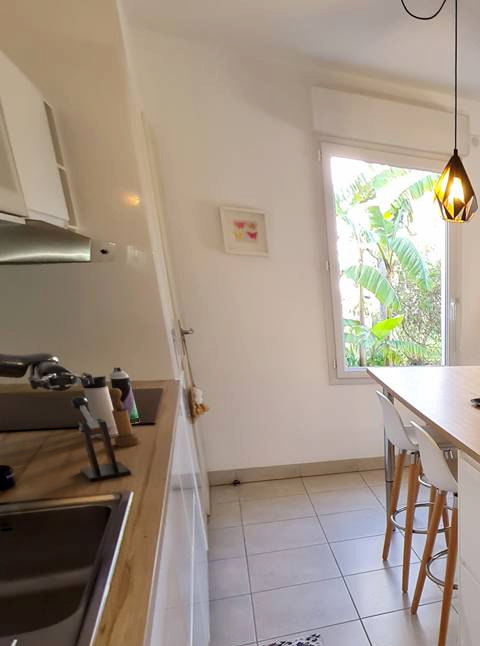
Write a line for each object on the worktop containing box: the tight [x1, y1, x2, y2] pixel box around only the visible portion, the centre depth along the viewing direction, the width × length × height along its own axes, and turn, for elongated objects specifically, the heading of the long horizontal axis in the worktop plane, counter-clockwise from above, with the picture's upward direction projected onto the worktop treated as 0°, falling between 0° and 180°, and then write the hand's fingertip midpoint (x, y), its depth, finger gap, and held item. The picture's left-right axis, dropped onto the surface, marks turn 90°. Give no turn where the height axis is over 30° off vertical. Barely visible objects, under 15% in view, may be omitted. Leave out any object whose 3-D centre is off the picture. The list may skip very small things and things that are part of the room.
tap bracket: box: [78, 419, 132, 483], centre depth 149 cm, size 11×9×15 cm
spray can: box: [109, 367, 139, 425], centre depth 197 cm, size 6×6×20 cm
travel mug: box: [82, 375, 118, 440], centre depth 180 cm, size 6×7×20 cm
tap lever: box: [70, 395, 101, 436], centre depth 149 cm, size 14×4×4 cm, turn 50°
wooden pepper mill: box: [109, 388, 141, 448], centre depth 174 cm, size 7×6×18 cm
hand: (66, 384), depth 157 cm, fingers open, 8 cm apart
